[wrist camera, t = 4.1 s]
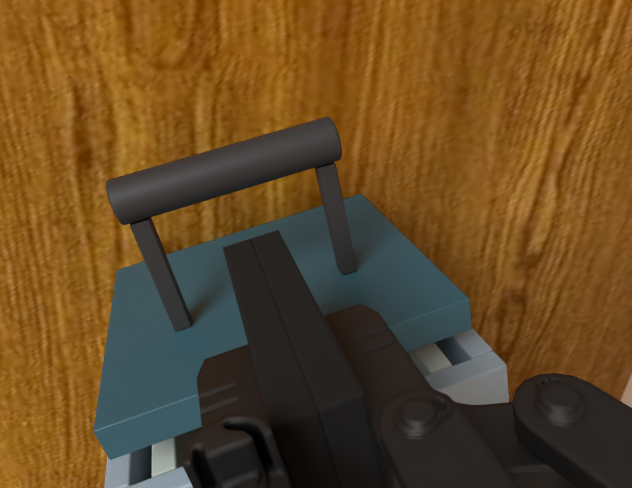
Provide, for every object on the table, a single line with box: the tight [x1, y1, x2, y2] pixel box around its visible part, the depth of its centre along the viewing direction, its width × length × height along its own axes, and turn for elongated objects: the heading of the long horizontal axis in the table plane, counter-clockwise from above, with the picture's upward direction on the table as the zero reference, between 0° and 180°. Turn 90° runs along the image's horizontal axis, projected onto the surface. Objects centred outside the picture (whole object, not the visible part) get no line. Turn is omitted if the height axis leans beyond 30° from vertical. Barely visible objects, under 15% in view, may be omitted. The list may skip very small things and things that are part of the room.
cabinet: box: [104, 328, 509, 488], centre depth 24 cm, size 15×13×12 cm
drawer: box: [94, 117, 472, 477], centre depth 21 cm, size 19×11×10 cm, turn 12°
